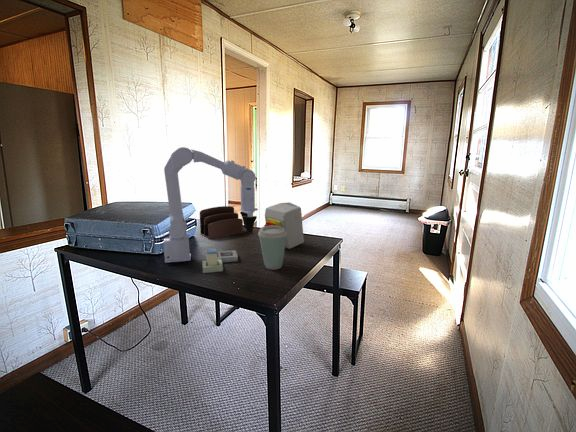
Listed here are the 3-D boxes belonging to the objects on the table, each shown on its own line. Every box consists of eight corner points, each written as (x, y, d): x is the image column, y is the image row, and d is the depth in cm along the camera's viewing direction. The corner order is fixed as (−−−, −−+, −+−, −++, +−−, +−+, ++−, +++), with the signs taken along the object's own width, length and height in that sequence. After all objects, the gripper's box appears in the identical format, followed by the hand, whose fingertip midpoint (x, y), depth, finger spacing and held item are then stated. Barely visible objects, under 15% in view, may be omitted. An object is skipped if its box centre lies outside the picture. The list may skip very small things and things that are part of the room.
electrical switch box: (260, 248, 140) (254, 208, 134) (284, 238, 149) (279, 200, 143) (280, 256, 130) (275, 213, 124) (304, 245, 139) (300, 204, 133)
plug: (207, 270, 108) (206, 252, 107) (207, 267, 112) (206, 249, 110) (217, 269, 109) (216, 251, 108) (217, 266, 112) (216, 248, 111)
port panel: (206, 264, 114) (206, 258, 114) (206, 257, 122) (205, 251, 121) (237, 261, 118) (237, 255, 117) (235, 254, 125) (235, 249, 125)
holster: (202, 273, 106) (202, 267, 106) (202, 265, 113) (202, 261, 112) (222, 271, 108) (222, 265, 108) (221, 264, 115) (221, 259, 114)
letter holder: (200, 235, 154) (198, 208, 151) (234, 229, 166) (233, 204, 163) (208, 239, 146) (207, 211, 143) (243, 233, 159) (242, 207, 156)
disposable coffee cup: (292, 268, 111) (292, 229, 108) (265, 274, 106) (265, 233, 102) (278, 259, 120) (278, 223, 117) (254, 264, 115) (253, 226, 111)
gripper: (260, 200, 117) (260, 234, 120) (254, 195, 130) (255, 225, 133) (242, 201, 115) (243, 235, 118) (238, 196, 129) (239, 226, 131)
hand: (248, 230), depth 125 cm, fingers open, 7 cm apart
